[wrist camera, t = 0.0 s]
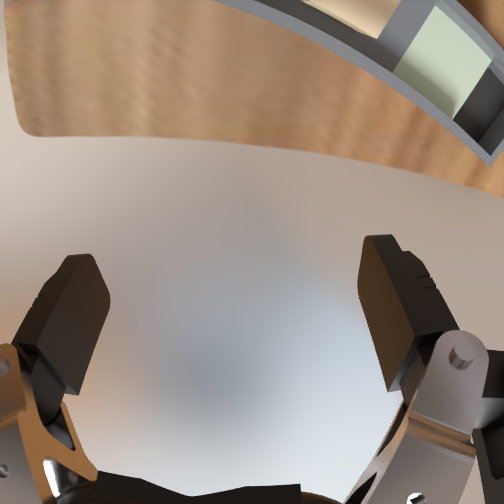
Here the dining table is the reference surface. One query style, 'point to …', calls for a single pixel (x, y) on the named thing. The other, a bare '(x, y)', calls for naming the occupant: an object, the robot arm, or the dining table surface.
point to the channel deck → (417, 61)
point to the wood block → (358, 13)
